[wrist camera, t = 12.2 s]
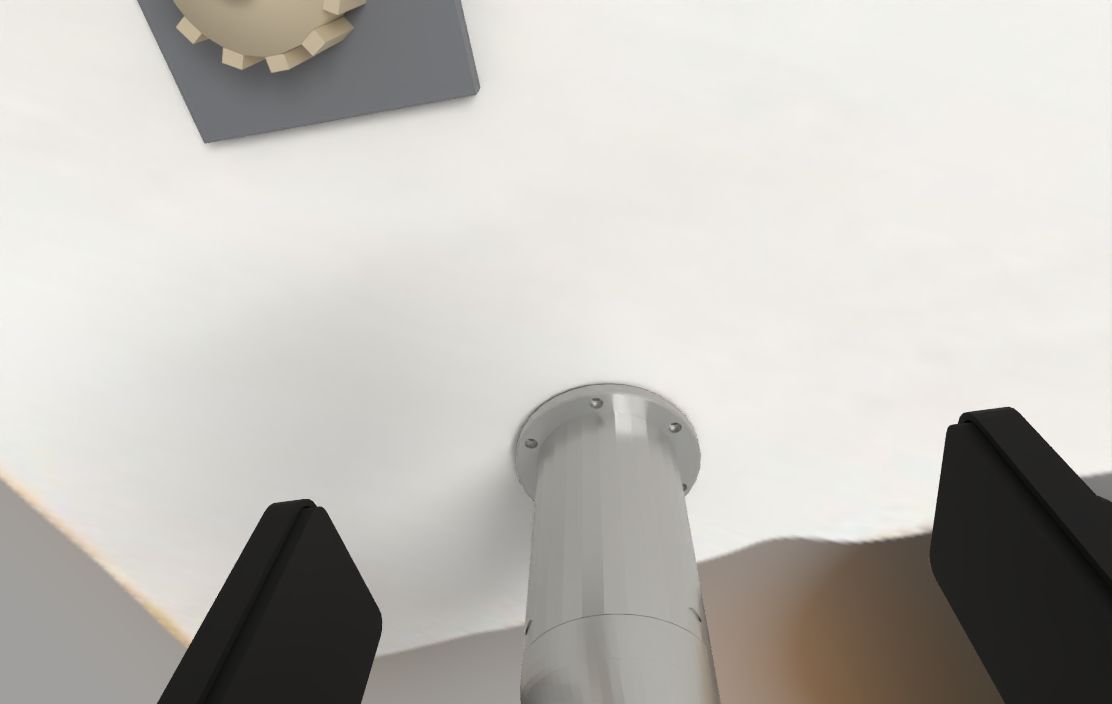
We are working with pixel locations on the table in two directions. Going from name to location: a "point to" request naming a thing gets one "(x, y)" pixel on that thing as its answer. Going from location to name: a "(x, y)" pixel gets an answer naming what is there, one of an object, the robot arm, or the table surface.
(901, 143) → the table surface
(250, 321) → the table surface
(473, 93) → the gear board
